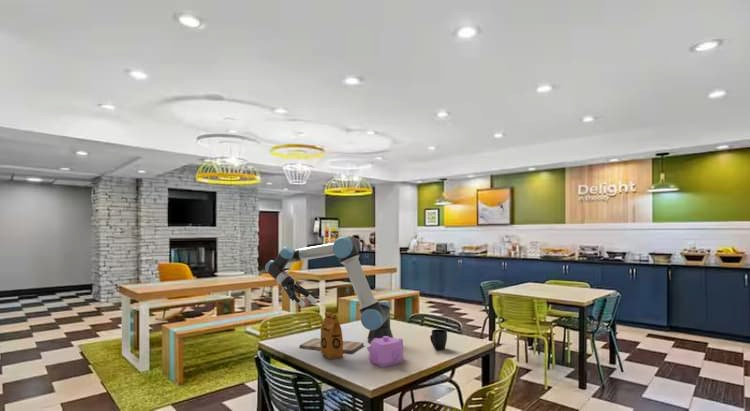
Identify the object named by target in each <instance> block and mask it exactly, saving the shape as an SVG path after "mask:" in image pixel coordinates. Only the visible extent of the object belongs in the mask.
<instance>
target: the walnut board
mask: <svg viewBox="0 0 750 411" xmlns="http://www.w3.org/2000/svg"><path fill="white" fill-rule="evenodd" d="M320 342H321V337H313V338H311V339H309V340H307V341H305V342H303V343H301V344H299V348H300V349H306V350H307V349H308V350H316V351H321V345H320ZM364 344H365V343H364V342H362V341H361V342H360V341H352V340H351V341H349V340H348V341H347V340H343V354H350V355H351V354H353V353H355V352H356V351H358V350H359V349H361V348H362V347H364Z"/></svg>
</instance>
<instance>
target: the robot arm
mask: <svg viewBox="0 0 750 411" xmlns="http://www.w3.org/2000/svg"><path fill="white" fill-rule="evenodd" d="M360 248H361V244H360V242H359V239H357V238H356V237H355V236H351V235H349V236H341V237H338V238H336V239H335V241H334V242H329V243H324V244H319V245H313V246H307V247H302V248H295V249H293V248H291V247H289V246H284V247H283V248H282V249H281V250H280V251H279V253H278V254H277V256H276V257H275V259H274V260H273V259H270V260H269V261H268V262H267V263H266V264H265V266H264V270H265V271H266V272H267V273H268V275H269V276H270V277H272V278H273V279H274V280H275V281H276V282H277V284H278V285H280V286H281V287H282V288H283V290H284V291H285V292H286V294H287V296H288V297H289V300H291V301H292V302H294V301H295V302H296V303H297V305H299V306H300V307H301V308H304V307H305V305H306V303H305V302H304V300H302V299H301V298H300V297H299V296H298V295H297V294H300V295H302V296H304V297H306V299H307V300H308V301H309V302H311V304H312V305H313V306H316V304H317V303H318V300H317V299H316V298H315V297H313V296H312V292H311V291H309V290H308V289H306V288H305V287H303V286H302V285H300V284H299V283H297V284H295V279H294V278H293V277H292V276H291V275H290V274H289V273H288V272H287V271H286V270H284V269H285V268H286V266H287V265H288V264H289V263H295V262H297V263H298V262H301V261H306V260H307V261H308V260H313V259H319V258H320V259H321V258H325V257H332V256H335V257H337V258H338V261H339V262H340V264H342V265H343V266H344V267H345V271H346V272H347V275H348V277H349V281H350V283H351V284H352V287H353V288H352V289H353V290H354V293H355V295H356V298H357V300H358V303H359V308H358V310H359V313H360V315H361V316H360V322H361V325H362V326H363V328H365V329H367V330H369V332H368V336H367V343H369V344H371V341H372V340H373V339H374V338H378V339H380V338H383V336H389V337H391V338H394V335H393V332H392V329H391V304H390V302H389V301H381V300H380V301H379V300H378V299H375V296H374V294H373V292H372V290H371V287H370V284H369V282H368V280H367V277H366V275H365V272H364V269H363V268H362V264H361V263H360V262H361V261H360V260H359V258H360V253H359V251H360Z"/></svg>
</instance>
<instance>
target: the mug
mask: <svg viewBox="0 0 750 411" xmlns="http://www.w3.org/2000/svg"><path fill="white" fill-rule="evenodd" d="M429 339H430V342H431V345H432V347H433V348H434V350H436V351H444V350H445V349H446V346H447V340H448V332H447V330H446V329H440V328H437V329H432V330H431V334H430V336H429Z"/></svg>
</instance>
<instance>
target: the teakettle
mask: <svg viewBox="0 0 750 411" xmlns="http://www.w3.org/2000/svg"><path fill="white" fill-rule="evenodd" d="M366 348H367V351H368V353H369V354H368V358H369V362H370V363H371V364H373V365H375V366H378V367H381V368H387V367H391V366H395V365H398V364H401V363H403V360H404V339H403V338H400V337H398V338H394V337H393V338H391V337H389V336H383V338H380V339H378V338H374V339H373V340H372V341H371V343H370V345H369V346H368V347H366Z"/></svg>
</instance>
